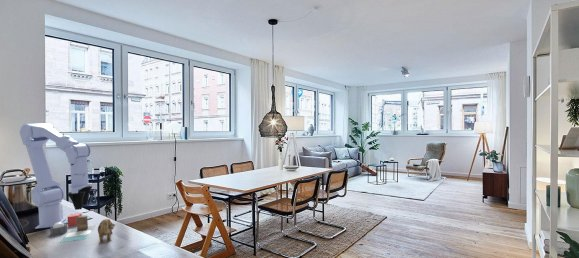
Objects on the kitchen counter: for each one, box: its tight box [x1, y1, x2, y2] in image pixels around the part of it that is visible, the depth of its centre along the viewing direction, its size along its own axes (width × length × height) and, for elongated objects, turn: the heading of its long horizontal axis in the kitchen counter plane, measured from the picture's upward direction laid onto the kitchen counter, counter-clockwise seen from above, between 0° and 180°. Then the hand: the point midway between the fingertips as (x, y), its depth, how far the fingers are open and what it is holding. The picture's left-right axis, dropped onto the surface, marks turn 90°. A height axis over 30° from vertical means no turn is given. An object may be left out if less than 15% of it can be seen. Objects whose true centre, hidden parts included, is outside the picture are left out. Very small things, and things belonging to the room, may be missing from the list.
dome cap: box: [53, 222, 65, 228], centre depth 120 cm, size 4×4×4 cm
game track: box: [59, 225, 96, 243], centre depth 119 cm, size 15×8×1 cm, turn 20°
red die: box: [67, 212, 83, 227], centre depth 130 cm, size 4×4×4 cm
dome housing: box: [49, 223, 68, 237], centre depth 120 cm, size 5×5×3 cm
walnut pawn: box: [76, 215, 89, 231], centre depth 124 cm, size 4×4×5 cm
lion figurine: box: [97, 218, 116, 245], centre depth 113 cm, size 15×5×9 cm, turn 36°
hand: (81, 206), depth 124 cm, fingers open, 7 cm apart
